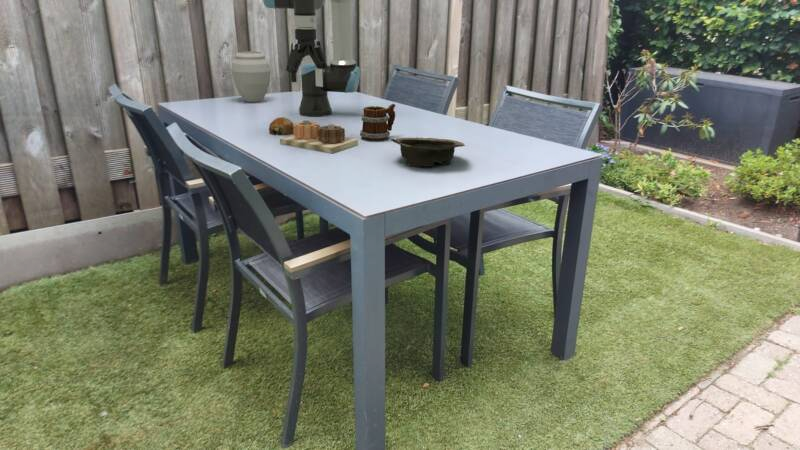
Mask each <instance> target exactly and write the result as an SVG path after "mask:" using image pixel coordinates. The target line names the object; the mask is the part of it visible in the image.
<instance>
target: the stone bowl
mask: <svg viewBox="0 0 800 450" xmlns="http://www.w3.org/2000/svg"><path fill="white" fill-rule="evenodd" d="M390 142H393V143H395V144H397V145H399V146H400V147H399V148H400V154H401V157H402V158H403V159H405V161H406V165H407V166H409V167H416V168H421V167H431V166H432V167H433V166H434V165H435V162H436V163H439V164H440V165H443V166H446V165H450V164H451V163H452V161H453V158H454V154H455V151H456V150H455V149H456V148H458V147H460V148H461V147H465V146H466V145H465V143H463V142H462V141H459V140H452V139H449V138H447V139H445V138H436V137H435V138H434V137H397V138H392V139H390Z"/></svg>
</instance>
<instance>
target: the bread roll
mask: <svg viewBox="0 0 800 450" xmlns="http://www.w3.org/2000/svg"><path fill="white" fill-rule="evenodd" d="M293 125H295V124H294V122H293V121H292V120H291V119H290V118H288V117H285V116H281V117H276V118H275V119H273V120H272V121H271V122H270V124H269V126H268V131H269V134H271V135H274V136H275V135H276V136H286V135H287V136H288V134H289V135H290V134H291V135H293V134H294V131H293Z"/></svg>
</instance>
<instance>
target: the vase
mask: <svg viewBox="0 0 800 450" xmlns="http://www.w3.org/2000/svg"><path fill="white" fill-rule="evenodd" d="M230 69H231V70H230V71H231V75H232V79H233V83H234V85H235V87H236V90H237V92H238V93H239V95H240V97H241V98H242V99H243V100H244V101H245V102H247V103H260V102H261V101H263V100H264V98H265V96H266V95H267V92H268V89H269V86H270V83H271V74H272V73H271V71H272V70H271V69H272V68H271V66H270V63H269V61H268V60H267V59H266V55H265V54H264V53H262V51H255V50H254V51H252V50H250V51H238V52H237V53H236V54H235V55H234V59H233V61H232V62H231V68H230Z"/></svg>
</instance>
